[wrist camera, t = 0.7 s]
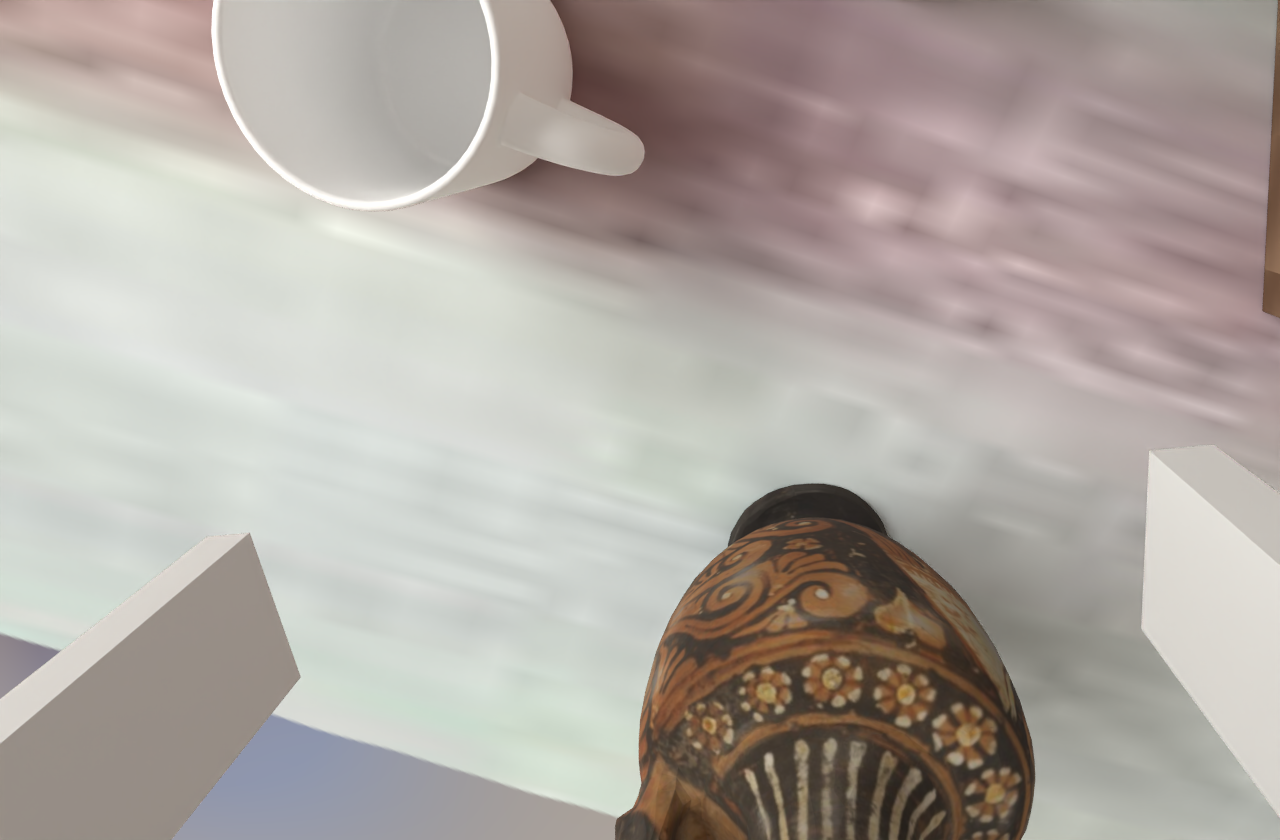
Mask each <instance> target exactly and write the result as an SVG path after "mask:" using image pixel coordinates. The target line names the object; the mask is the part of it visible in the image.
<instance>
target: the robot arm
mask: <svg viewBox="0 0 1280 840" xmlns="http://www.w3.org/2000/svg"><path fill="white" fill-rule="evenodd" d="M1141 629H1142V631H1143V632H1144V634H1145V635H1146V636H1147V638H1148V639H1149V640H1150V642H1151V643H1152V644H1153V646H1154V647H1155V649H1156V650H1157V651H1158V653H1159V654H1160V655H1161V657H1162V658H1163V659H1164V661H1165V662H1166V664H1167V665H1168V666H1169V668H1170V669H1171V670H1172V672H1173V673H1174V674H1175V676H1176V677H1177V679H1178V680H1179V681H1180V683H1181V684H1182V685H1183V687H1184V688H1185V689H1186V691H1187V692H1188V694H1189V695H1190V696H1191V698H1192V699H1193V700H1194V702H1195V703H1196V704H1197V706H1198V707H1199V709H1200V710H1201V711H1202V713H1203V714H1204V715H1205V717H1206V718H1207V719H1208V721H1209V722H1210V724H1211V725H1212V726H1213V728H1214V729H1215V730H1216V732H1217V733H1218V734H1219V736H1220V737H1221V739H1222V740H1223V741H1224V743H1225V744H1226V745H1227V747H1228V748H1229V749H1230V751H1231V752H1232V754H1233V755H1234V756H1235V758H1236V759H1237V760H1238V762H1239V763H1240V764H1241V766H1242V767H1243V769H1244V770H1245V771H1246V773H1247V774H1248V775H1249V777H1250V778H1251V779H1252V781H1253V782H1254V784H1255V785H1256V786H1257V788H1258V789H1259V790H1260V792H1261V793H1262V794H1263V796H1264V797H1265V799H1266V800H1267V801H1268V803H1269V804H1270V805H1271V807H1272V808H1273V809H1274V811H1275V812H1276V814H1277V815H1278V816H1279V818H1280V494H1279V493H1278V492H1277V491H1275V490H1274V489H1273V488H1271V487H1270V486H1269V485H1267V484H1266V483H1265V482H1263V481H1262V480H1261V479H1259V478H1258V477H1257V476H1255V475H1254V474H1253V473H1251V472H1250V471H1249V470H1247V469H1246V468H1244V467H1243V466H1242V465H1240V464H1239V463H1238V462H1236V461H1235V460H1234V459H1232V458H1231V457H1230V456H1228V455H1227V454H1226V453H1224V452H1223V451H1222V450H1220V449H1219V448H1218V447H1216V446H1215V445H1203V446H1192V447H1181V448H1170V449H1159V450H1149V467H1148V490H1147V512H1146V535H1145V558H1144V580H1143V603H1142V626H1141ZM299 679H300V674H299V671H298V668H297V665H296V663H295V660H294V657H293V654H292V651H291V648H290V646H289V643H288V640H287V637H286V634H285V631H284V629H283V626H282V623H281V620H280V617H279V614H278V612H277V609H276V606H275V603H274V600H273V597H272V595H271V592H270V589H269V586H268V583H267V581H266V578H265V575H264V572H263V569H262V566H261V564H260V561H259V558H258V555H257V552H256V549H255V547H254V544H253V541H252V538H251V535H250V533H241V534H231V535H220V536H209V537H206V538H204V539H203V540H202V541H201V542H199V543H198V544H197V545H196V546H194V547H193V548H192V549H190V550H189V551H188V552H187V553H185V554H184V555H183V556H182V557H180V558H179V559H178V560H176V561H175V562H174V563H173V564H171V565H170V566H169V567H168V568H166V569H165V570H164V571H162V572H161V573H160V574H159V575H157V576H156V577H155V578H154V579H152V580H151V581H150V582H148V583H147V584H146V585H145V586H143V587H142V588H141V589H140V590H138V591H137V592H136V593H134V594H133V595H132V596H131V597H129V598H128V599H127V600H126V601H124V602H123V603H122V604H120V605H119V606H118V607H117V608H115V609H114V610H113V611H112V612H110V613H109V614H108V615H107V616H105V617H104V618H103V619H101V620H100V621H99V622H98V623H96V624H95V625H94V626H93V627H91V628H90V629H89V630H87V631H86V632H85V633H84V634H82V635H81V636H80V637H79V638H77V639H76V640H75V641H73V642H72V643H71V644H70V645H68V646H67V647H66V648H65V649H63V650H62V651H61V652H59V653H58V654H57V655H56V656H54V657H53V658H52V659H51V660H49V661H48V662H47V663H46V664H44V665H43V666H42V667H40V668H39V669H38V670H37V671H35V672H34V673H33V674H32V675H30V676H29V677H28V678H26V679H25V680H24V681H23V682H21V683H20V684H19V685H18V686H16V687H15V688H14V689H12V690H11V691H10V692H9V693H7V694H6V695H5V696H4V697H2V698H1V699H0V840H171V839H172V838H173V837H174V836H175V834H176V833H177V832H178V831H179V829H180V828H181V827H182V826H183V824H184V823H185V822H186V821H187V819H188V818H189V817H190V816H191V814H192V813H193V812H194V811H195V809H196V808H197V807H198V806H199V804H200V803H201V802H202V801H203V799H204V798H205V797H206V795H207V794H208V793H209V792H210V790H211V789H212V788H213V787H214V785H215V784H216V783H217V782H218V780H219V779H220V778H221V777H222V775H223V774H224V773H225V771H226V770H227V769H228V768H229V766H230V765H231V764H232V763H233V761H234V760H235V759H236V758H237V757H238V755H239V754H240V752H241V751H242V750H243V749H244V748H245V746H246V745H247V744H248V742H249V741H250V740H251V739H252V738H253V736H254V735H255V734H256V732H257V731H258V730H259V729H260V728H261V726H262V725H263V724H264V723H265V721H266V720H267V719H268V717H269V716H270V715H271V714H272V713H273V711H274V710H275V709H276V707H277V706H278V705H279V704H280V702H281V701H282V700H283V699H284V697H285V696H286V695H287V694H288V692H289V691H290V690H291V689H292V687H293V686H294V685H295V684H296V682H297V681H298V680H299Z"/></svg>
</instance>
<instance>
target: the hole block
mask: <svg viewBox="0 0 1280 840" xmlns="http://www.w3.org/2000/svg"><path fill="white" fill-rule="evenodd" d="M1263 311H1264V312H1266V313H1269V314H1271V315H1274V316H1276V317H1279V318H1280V0H1278V14H1277V34H1276V54H1275V74H1274V94H1273V113H1272V133H1271V153H1270V173H1269V193H1268V213H1267V233H1266V252H1265V272H1264V292H1263Z"/></svg>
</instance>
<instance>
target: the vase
mask: <svg viewBox="0 0 1280 840" xmlns="http://www.w3.org/2000/svg"><path fill="white" fill-rule="evenodd" d="M639 767H640V776H641V782H642V784H641V788H640V792H639V796H638V798H637V800H636V802H635V805H634V807H633V808H632V809H630V810H629V811H628V812H626V813H625V814H623V815H622V816H620V817H619V818H618V819H617V821H616V825H615V840H1021V838H1022V837H1023V835H1024V833H1025V831H1026V829H1027V825H1028V821H1029V818H1030V814H1031V808H1032V803H1033V796H1034V786H1035V763H1034V754H1033V747H1032V740H1031V736H1030V733H1029V730H1028V726H1027V723H1026V720H1025V716H1024V713H1023V710H1022V706H1021V703H1020V700H1019V698H1018V695H1017V693H1016V691H1015V688H1014V686H1013V684H1012V681H1011V679H1010V677H1009V674H1008V672H1007V670H1006V668H1005V666H1004V664H1003V662H1002V660H1001V658H1000V656H999V654H998V652H997V650H996V648H995V646H994V644H993V643H992V641H991V640H990V638H989V637H988V635H987V633H986V632H985V630H984V629H983V627H982V626H981V624H980V623H979V621H978V620H977V618H976V617H975V615H974V614H973V612H972V611H971V609H970V608H969V607H968V605H967V604H966V602H965V601H964V600H963V599H962V598H961V596H960V595H959V594H958V593H957V592H956V591H955V589H954V588H953V587H952V586H951V585H950V584H949V583H948V582H946V581H945V580H944V579H943V578H942V577H941V576H940V575H939V574H938V573H937V572H935V571H934V570H933V569H932V568H931V567H930V566H929V565H927V564H926V563H925V562H924V561H923V560H922V559H921V558H919V557H918V556H917V555H916V554H914V553H913V552H911V551H910V550H908V549H907V548H905V547H904V546H902V545H901V544H900V543H898V542H896V541H895V540H893V539H891V538H889V537H888V536H887V533H886V531H885V528H884V525H883V523H882V521H881V519H880V518H879V516H878V515H877V513H876V512H875V511H874V510H873V509H872V508H871V507H870V506H869V505H868V504H867V503H866V502H865V501H863V500H862V499H861V498H859V497H858V496H857V495H855V494H854V493H852V492H850V491H849V490H846V489H843V488H840V487H836V486H831V485H826V484H803V485H792V486H788V487H784V488H781V489H777V490H775V491H773V492H770V493H768V494H766V495H765V496H763V497H762V498H760V499H759V500H757V501H755V502H754V503H753V504H752V505H750V506H749V507H748V508H747V509H746V510H745V511H744V512H743V514H742V515H741V517H740V518H739V520H738V522H737V523H736V525H735V527H734V529H733V531H732V532H731V536H730V540H729V543H728V548H726V549H725V550H724V551H723V552H722V553H720V554H719V555H718V556H717V557H715V558H714V559H713V560H712V561H711V562H710V563H709V564H708V566H707V567H706V568H705V569H704V570H703V571H702V572H701V573H700V574H699V575H698V576H697V577H696V578H695V579H694V581H693V582H692V584H691V585H690V587H689V588H688V590H687V591H686V593H685V594H684V596H683V597H682V599H681V601H680V602H679V604H678V606H677V608H676V609H675V611H674V613H673V614H672V616H671V618H670V620H669V623H668V625H667V627H666V630H665V632H664V634H663V636H662V639H661V641H660V643H659V646H658V649H657V651H656V654H655V658H654V662H653V666H652V669H651V673H650V677H649V680H648V684H647V688H646V691H645V696H644V702H643V707H642V713H641V719H640V732H639Z"/></svg>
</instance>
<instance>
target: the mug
mask: <svg viewBox="0 0 1280 840" xmlns="http://www.w3.org/2000/svg"><path fill="white" fill-rule="evenodd" d="M212 43H213V53H214V59H215V64H216V69H217V74H218V78H219V81H220V84H221V87H222V90H223V93H224V97H225V99H226V101H227V103H228V106H229V108H230V110H231V112H232V115H233V117H234V118H235V120H236V122H237V124H238V125H239V127H240V129H241V130H242V132H243V134H244V135H245V137H246V138H247V139H248V141H249V142H250V144H251V145H252V146H253V148H254V149H255V150H256V152H257V153H258V154H259V155H260V156H261V157H262V158H263V159H264V160H265V161H266V163H267V164H268V165H269V166H270V167H272V168H273V169H274V170H275V171H276V172H277V173H278V174H280V175H281V176H282V177H283V178H284V179H286V180H287V181H288V182H290V183H291V184H293V185H294V186H296V187H297V188H298V189H300V190H302V191H303V192H305V193H307V194H309V195H311V196H313V197H315V198H317V199H319V200H321V201H324V202H327V203H329V204H332V205H335V206H339V207H343V208H347V209H351V210H359V211H369V212H374V211H390V210H396V209H401V208H406V207H410V206H413V205H417V204H420V203H424V202H428V201H431V200H435V199H438V198H442V197H446V196H449V195H453V194H457V193H460V192H464V191H467V190H471V189H475V188H478V187H482V186H485V185H489V184H492V183H495V182H498V181H501V180H504V179H507V178H509V177H511V176H513V175H515V174H517V173H519V172H521V171H522V170H524V169H525V168H526V167H528V166H529V165H531V164H532V163H533V162H534V161H535V160H536V159H537V158H540V159H543V160H546V161H550V162H553V163H556V164H560V165H563V166H567V167H571V168H575V169H579V170H583V171H588V172H593V173H598V174H604V175H612V176H622V175H627V174H631V173H633V172H634V171H636V170H637V169H638V168H639V167H640V165H641V164H642V162H643V160H644V154H645V150H644V146H643V143H642V142H641V140H640V139H639V137H638V136H637V135H636V134H634V133H633V132H631V131H630V130H628V129H627V128H625V127H623V126H621V125H620V124H618V123H616V122H614V121H612V120H610V119H608V118H606V117H604V116H602V115H599V114H597V113H595V112H593V111H591V110H589V109H587V108H585V107H582V106H580V105H578V104H576V103H574V102H572V101H570V98H571V92H572V79H573V68H572V56H571V51H570V46H569V41H568V38H567V35H566V32H565V29H564V26H563V24H562V22H561V19H560V17H559V15H558V13H557V11H556V9H555V7H554V6H553V4H552V2H551V1H550V0H214V3H213V10H212Z"/></svg>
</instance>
